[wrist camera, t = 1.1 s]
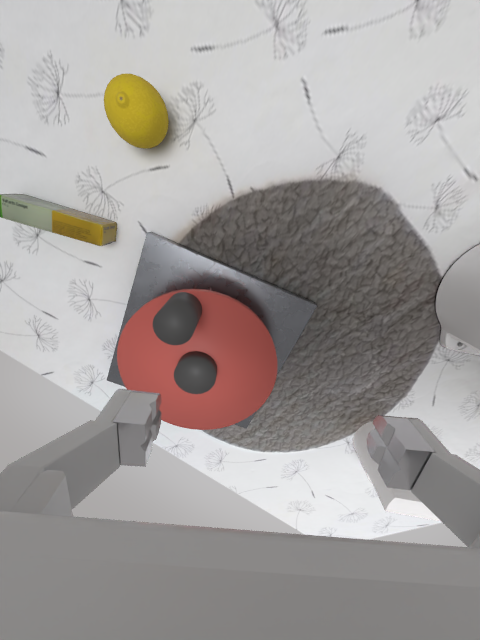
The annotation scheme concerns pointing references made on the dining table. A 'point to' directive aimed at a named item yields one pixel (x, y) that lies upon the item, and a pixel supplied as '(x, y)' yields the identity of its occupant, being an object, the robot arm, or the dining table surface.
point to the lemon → (136, 111)
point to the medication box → (57, 219)
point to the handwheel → (199, 358)
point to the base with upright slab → (389, 497)
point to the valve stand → (207, 273)
